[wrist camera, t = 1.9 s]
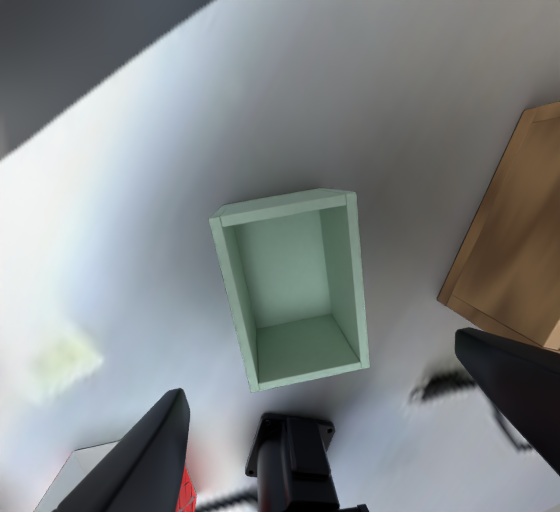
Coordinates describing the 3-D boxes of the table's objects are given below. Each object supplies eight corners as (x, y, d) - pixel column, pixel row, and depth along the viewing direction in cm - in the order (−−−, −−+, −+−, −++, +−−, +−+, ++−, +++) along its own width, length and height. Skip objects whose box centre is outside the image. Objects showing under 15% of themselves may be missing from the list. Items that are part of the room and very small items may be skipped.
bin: (336, 314, 20) (370, 367, 15) (251, 331, 20) (250, 393, 14) (321, 187, 18) (356, 191, 12) (222, 205, 17) (208, 218, 11)
